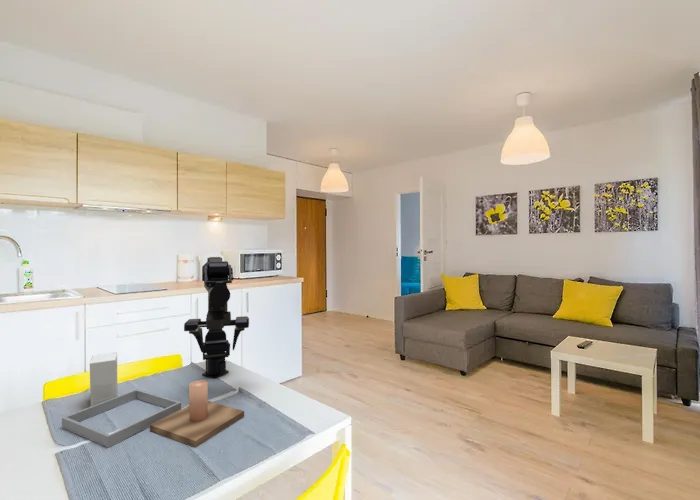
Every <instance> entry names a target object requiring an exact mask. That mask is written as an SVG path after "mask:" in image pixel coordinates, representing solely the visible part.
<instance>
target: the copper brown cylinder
mask: <svg viewBox="0 0 700 500" xmlns="http://www.w3.org/2000/svg"><path fill="white" fill-rule="evenodd" d="M208 382H209V381H208V380H205V379H200V380H199V379H197V380H194V381H191V382H189V385H188V392H189V393H188V400H189V401H188V403H189V405H188V406H189V420H190V421H192V422H199V421H202V420H205V419H206V418H207V417H208V401H209V400H208V397H209V396H208V389H209V388H208Z"/></svg>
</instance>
